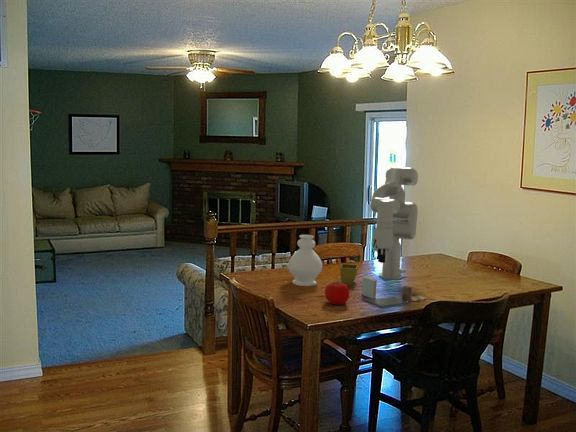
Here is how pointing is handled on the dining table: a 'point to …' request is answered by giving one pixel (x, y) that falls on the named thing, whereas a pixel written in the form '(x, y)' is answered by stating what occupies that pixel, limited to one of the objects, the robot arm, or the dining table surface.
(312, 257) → the decorative vase
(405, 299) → the turner
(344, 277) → the flower pot
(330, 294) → the tomato
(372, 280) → the tile
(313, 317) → the dining table surface
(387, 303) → the trivet
